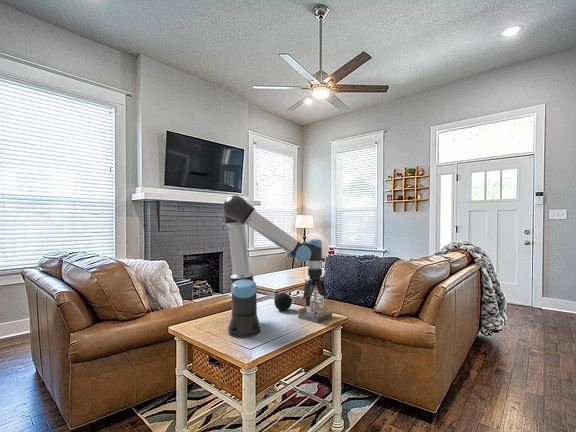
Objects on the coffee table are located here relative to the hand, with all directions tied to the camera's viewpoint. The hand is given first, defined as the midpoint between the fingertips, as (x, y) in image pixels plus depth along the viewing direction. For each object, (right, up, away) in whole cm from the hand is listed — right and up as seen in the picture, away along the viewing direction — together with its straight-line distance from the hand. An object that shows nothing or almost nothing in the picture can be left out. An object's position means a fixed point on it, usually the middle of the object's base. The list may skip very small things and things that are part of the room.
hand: (315, 309), depth 169 cm
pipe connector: (0, 0, 0) cm, 0 cm away
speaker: (-17, -5, +13) cm, 22 cm away
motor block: (0, -4, 0) cm, 4 cm away
